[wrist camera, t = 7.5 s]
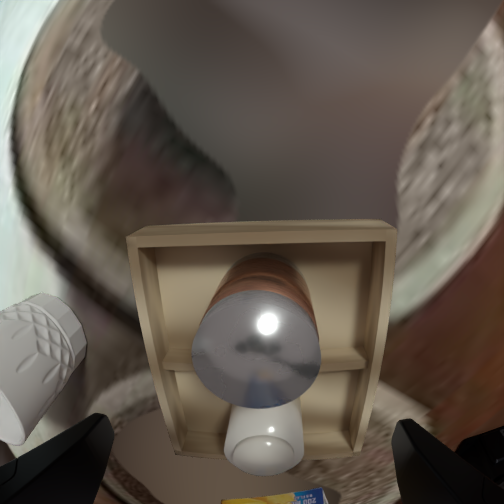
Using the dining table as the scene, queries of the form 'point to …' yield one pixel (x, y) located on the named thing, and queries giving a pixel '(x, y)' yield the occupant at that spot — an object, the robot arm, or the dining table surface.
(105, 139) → the dining table surface
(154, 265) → the beige wooden tray
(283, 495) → the blue food box
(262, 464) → the jar
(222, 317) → the can
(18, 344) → the white cup
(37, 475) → the robot arm
